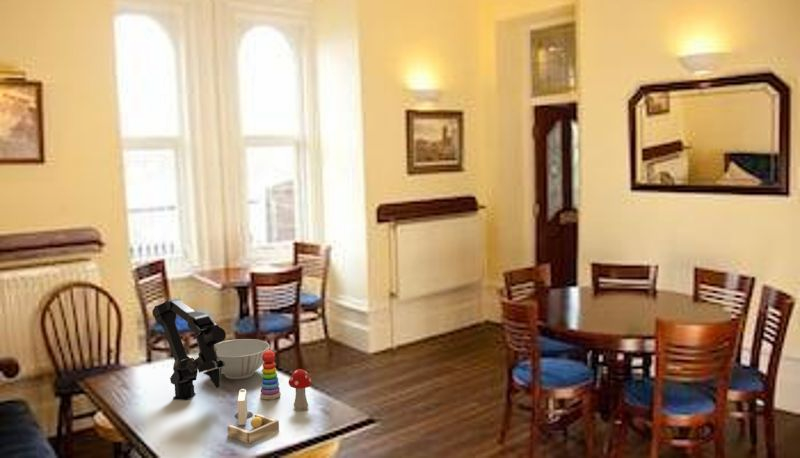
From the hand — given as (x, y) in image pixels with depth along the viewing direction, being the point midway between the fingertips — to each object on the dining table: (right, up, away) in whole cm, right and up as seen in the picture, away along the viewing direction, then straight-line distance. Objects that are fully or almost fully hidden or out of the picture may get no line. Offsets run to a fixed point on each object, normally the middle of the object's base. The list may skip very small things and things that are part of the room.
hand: (217, 387), depth 254 cm
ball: (+18, -9, -16) cm, 25 cm away
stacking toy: (+17, -7, +15) cm, 24 cm away
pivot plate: (+10, -9, -4) cm, 15 cm away
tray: (+18, -11, -19) cm, 28 cm away
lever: (+11, -9, -8) cm, 17 cm away
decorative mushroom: (+31, -8, +3) cm, 32 cm away
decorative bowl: (-2, -4, +42) cm, 42 cm away
